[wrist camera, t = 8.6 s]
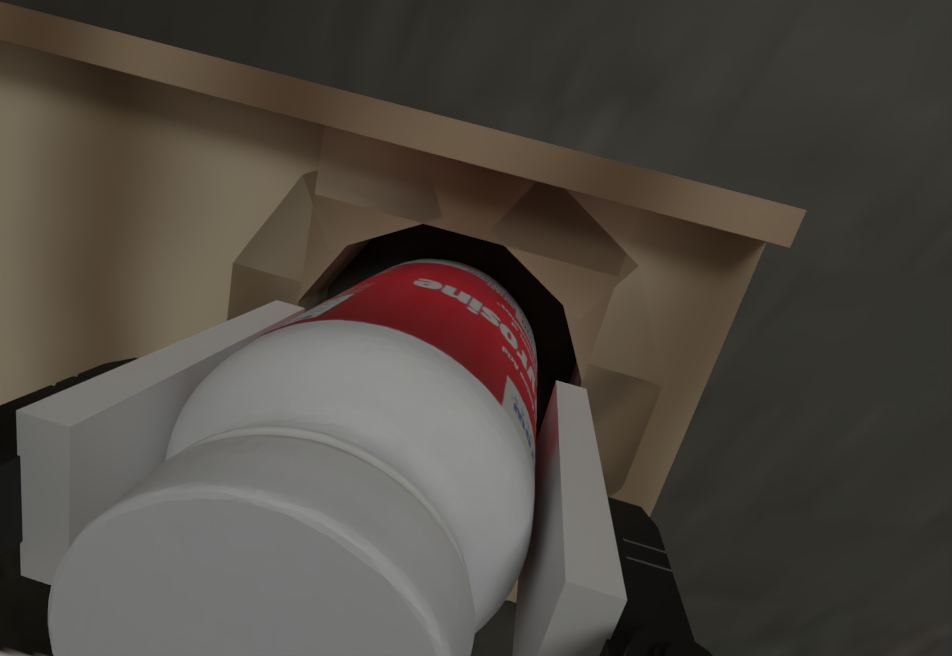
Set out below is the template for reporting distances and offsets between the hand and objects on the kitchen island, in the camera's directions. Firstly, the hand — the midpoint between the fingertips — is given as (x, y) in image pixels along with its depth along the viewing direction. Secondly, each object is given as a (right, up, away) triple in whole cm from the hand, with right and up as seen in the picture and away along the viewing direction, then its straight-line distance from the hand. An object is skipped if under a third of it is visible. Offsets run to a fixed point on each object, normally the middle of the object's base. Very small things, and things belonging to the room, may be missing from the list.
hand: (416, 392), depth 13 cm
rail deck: (-4, +2, +3) cm, 6 cm away
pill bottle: (0, +1, +3) cm, 3 cm away
